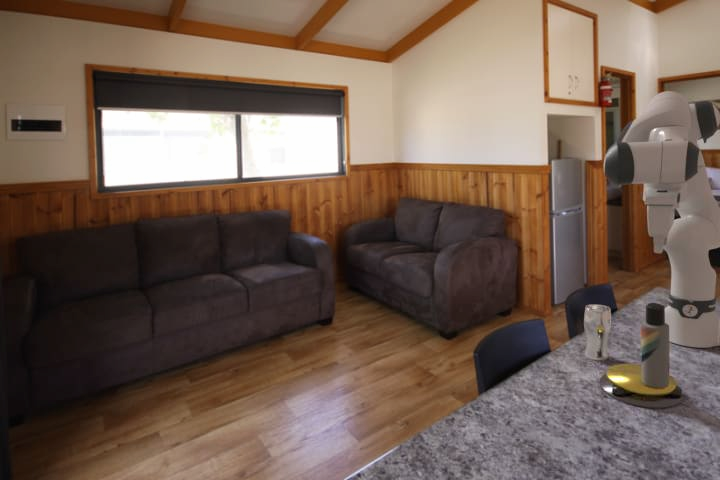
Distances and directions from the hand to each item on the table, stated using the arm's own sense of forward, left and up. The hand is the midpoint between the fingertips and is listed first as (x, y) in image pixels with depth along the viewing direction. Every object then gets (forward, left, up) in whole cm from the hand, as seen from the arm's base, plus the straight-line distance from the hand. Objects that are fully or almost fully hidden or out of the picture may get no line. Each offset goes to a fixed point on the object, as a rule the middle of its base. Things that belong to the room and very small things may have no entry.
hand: (660, 248), depth 116 cm
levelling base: (+8, -2, -35) cm, 36 cm away
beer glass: (-7, -15, -35) cm, 39 cm away
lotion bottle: (+10, +2, -32) cm, 33 cm away
